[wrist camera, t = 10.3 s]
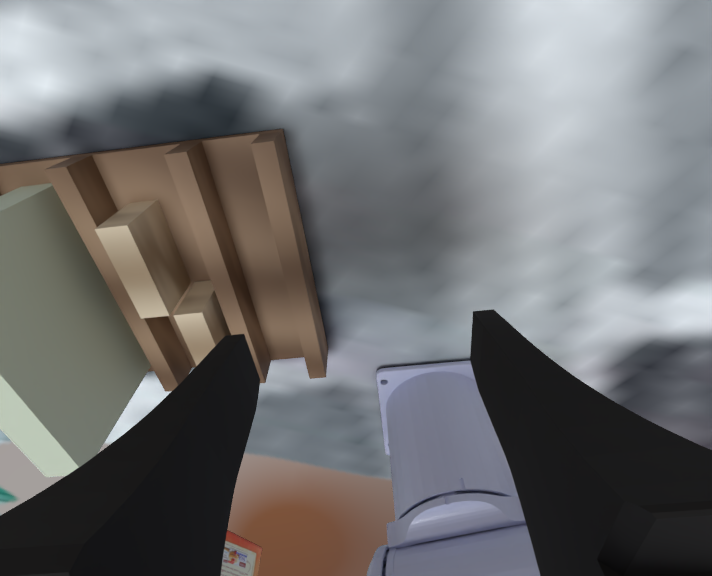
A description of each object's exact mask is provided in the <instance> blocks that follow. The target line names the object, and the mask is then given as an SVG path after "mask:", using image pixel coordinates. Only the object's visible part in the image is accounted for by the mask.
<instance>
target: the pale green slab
mask: <svg viewBox="0 0 712 576" xmlns="http://www.w3.org/2000/svg"><path fill="white" fill-rule="evenodd" d="M150 367H151V364H150V362H149V360H148V359H147V357H146V355H145V353H144V351H143V349H142V348H141V346H140V344H139V342H138V340H137V338H136V337H135V335H134V333H133V331H132V329H131V328H130V326H129V324H128V322H127V320H126V318H125V317H124V315H123V313H122V311H121V309H120V307H119V306H118V304H117V302H116V300H115V298H114V296H113V295H112V293H111V291H110V289H109V287H108V285H107V284H106V282H105V280H104V278H103V276H102V275H101V273H100V271H99V269H98V267H97V265H96V264H95V262H94V260H93V258H92V256H91V254H90V253H89V251H88V249H87V247H86V245H85V243H84V242H83V240H82V238H81V236H80V234H79V233H78V231H77V229H76V227H75V225H74V223H73V222H72V220H71V218H70V216H69V214H68V212H67V211H66V209H65V207H64V205H63V203H62V201H61V200H60V198H59V196H58V194H57V192H56V190H55V189H54V187H53V185H52V183H47V184H39V185H31V186H22V187H19V188H17V189H15V190H13V191H10V192H8V193H6V194H4V195H2V196H0V429H1V430H2V431H3V432H4V433H5V434H6V436H7V437H8V438H9V439H10V440H11V441H12V442H13V443H14V444H15V445H16V446H17V447H18V448H19V449H20V450H21V451H22V452H23V453H24V454H25V456H26V457H27V458H28V459H29V460H30V461H31V462H32V463H33V464H34V465H35V466H36V467H37V468H38V469H39V470H40V471H41V472H42V473H43V474H44V476H45V477H55V476H67V475H68V474H70V473H71V472H73V471H74V470H76V469H77V468H79V467H80V466H82V465H83V464H85V463H86V462H88V461H89V460H90V459H92V458H93V457H94V456H96V455H97V454H98V452H99V450H100V448H101V447H102V445H103V444H104V442H105V440H106V439H107V437H108V435H109V434H110V432H111V431H112V429H113V427H114V426H115V424H116V422H117V421H118V419H119V417H120V416H121V414H122V413H123V411H124V409H125V408H126V406H127V404H128V403H129V401H130V399H131V398H132V396H133V394H134V393H135V391H136V390H137V388H138V386H139V385H140V383H141V381H142V380H143V378H144V376H145V375H146V373H147V372H148V370H149V368H150Z"/></svg>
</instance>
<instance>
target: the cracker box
mask: <svg viewBox="0 0 712 576" xmlns="http://www.w3.org/2000/svg"><path fill="white" fill-rule="evenodd" d="M261 553H262V548H261V547H260V546H258V545H256V544H254V543H252V542H250V541H248V540H246V539H244V538H242V537H240V536H238V535H236V534H234V533H232V532H230V531H228V530H227V534H226V541H225V547H224V554H223V560H222V568H221V576H258V571H259V566H260V559H261Z"/></svg>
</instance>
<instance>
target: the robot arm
mask: <svg viewBox="0 0 712 576" xmlns="http://www.w3.org/2000/svg"><path fill="white" fill-rule="evenodd" d="M376 379H377V387H378V395H379V403H380V411H381V420H382V428H383V436H384V444H385V452H386V454H387V455H390V462H391V473H392V485H393V495H394V506H395V518H396V521H394V522H390V523H388V524H387V536H388V545H383V546H380V547H379V548H377V550H376V552H375V554H374V556H373V560H372V562H371V563H370V566H369V568H368V572H367V576H712V450H710V449H707V448H705V447H703V446H700V445H698V444H696V443H694V442H692V441H690V440H687V439H685V438H683V437H681V436H679V435H677V434H675V433H672V432H670V431H668V430H666V429H664V428H662V427H660V426H658V425H656V424H654V423H652V422H650V421H648V420H646V419H644V418H643V417H641V416H639V415H637V414H635V413H633V412H632V411H630V410H628V409H626V408H624V407H622V406H621V405H619V404H617V403H615V402H614V401H612V400H610V399H609V398H607V397H605V396H604V395H602V394H601V393H599V392H597V391H596V390H594V389H593V388H591V387H590V386H588V385H586V384H585V383H583V382H582V381H580V380H579V379H577V378H576V377H574V376H573V375H572V374H570V373H569V372H567V371H566V370H565V369H563V368H562V367H561V366H559V365H558V364H557V363H555V362H554V361H553V360H551V359H550V358H549V357H547V356H546V355H545V354H544V353H543V352H541V351H540V350H539V349H538V348H537V347H535V346H534V345H533V344H532V343H530V342H529V341H528V340H527V339H526V338H525V337H524V336H522V335H521V334H520V333H519V332H518V331H517V330H516V329H514V328H513V327H512V326H511V325H510V324H509V323H508V322H507V321H506V320H505V319H503V318H502V317H501V316H500V315H499V314H498V313H497V312H496V311H494V310H484V311H474V312H473V324H472V341H471V358H470V360H469V361H458V362H447V363H436V364H425V365H414V366H403V367H392V368H382V369H379V370H378V371H377V372H376ZM382 380H385V381H382ZM259 385H260V378H259V375H258V372H257V369H256V366H255V363H254V361H253V358H252V355H251V352H250V349H249V346H248V343H247V341H246V338H245V335H244V334H237V335H226V336H225V337H224V338H223V339H222V340H221V341H220V342H219V343H218V344H217V345H216V346H215V347H214V348H213V349H212V350H211V351H210V352H209V353H208V355H207V356H206V357H205V358H204V359H203V360H202V361H201V362H200V363H199V364H198V365H197V366H196V367H195V369H194V370H193V371H192V372H191V373H190V374H189V375H188V376H187V377H186V378H185V379H184V380H183V381H182V382H181V383H180V384H179V385H178V386H177V387H176V388H175V389H174V390H173V391H172V392H171V393H170V394H169V395H168V396H167V397H166V398H165V399H164V400H163V401H162V402H161V403H160V404H159V405H157V406H156V407H155V408H154V409H153V410H152V411H151V412H150V413H149V414H148V415H146V416H145V417H144V418H143V419H142V420H141V421H139V422H138V423H137V424H136V425H135V426H133V427H132V428H131V429H130V430H129V431H127V432H126V433H125V434H124V435H122V436H121V437H120V438H119V439H117V440H116V441H115V442H113V443H112V444H111V445H109V446H108V447H107V448H105V449H104V450H103V451H101V452H100V453H98V454H97V455H96V456H94V457H93V458H92V459H90V460H89V461H88V462H86V463H85V464H83V465H82V466H80V467H79V468H77V469H76V470H74V471H73V472H71V473H70V474H68V475H67V476H65V477H64V478H62V479H61V480H59V481H58V482H56V483H55V484H53V485H51V486H50V487H48V488H47V489H45V490H44V491H42V492H40V493H39V494H37V495H36V496H34V497H32V498H31V499H29V500H27V501H25V502H24V503H22V504H20V505H18V506H16V507H15V508H13V509H11V510H10V511H8V512H6V513H4V514H3V515H1V516H0V576H221V568H222V560H223V554H224V547H225V541H226V534H227V528H228V521H229V516H230V510H231V504H232V498H233V493H234V488H235V484H236V480H237V475H238V472H239V468H240V465H241V461H242V458H243V454H244V451H245V447H246V444H247V440H248V437H249V433H250V430H251V426H252V422H253V419H254V415H255V411H256V406H257V400H258V393H259Z"/></svg>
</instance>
